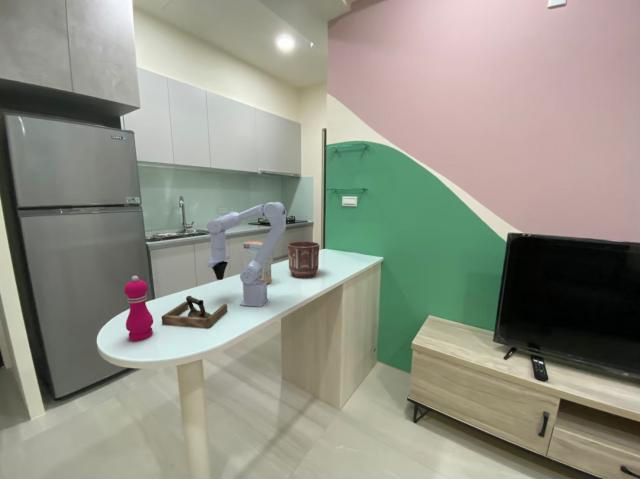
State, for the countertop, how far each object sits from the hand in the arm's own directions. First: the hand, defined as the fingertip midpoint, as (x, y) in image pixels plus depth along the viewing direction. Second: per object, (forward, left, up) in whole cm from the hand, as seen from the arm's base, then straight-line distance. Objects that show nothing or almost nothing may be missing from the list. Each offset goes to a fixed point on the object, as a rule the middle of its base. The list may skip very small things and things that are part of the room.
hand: (220, 279), depth 112 cm
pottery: (-28, -42, -10) cm, 51 cm away
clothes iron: (+1, +16, -10) cm, 19 cm away
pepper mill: (+11, +31, -10) cm, 34 cm away
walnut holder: (+1, +16, -9) cm, 19 cm away
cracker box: (-7, -26, -10) cm, 29 cm away
